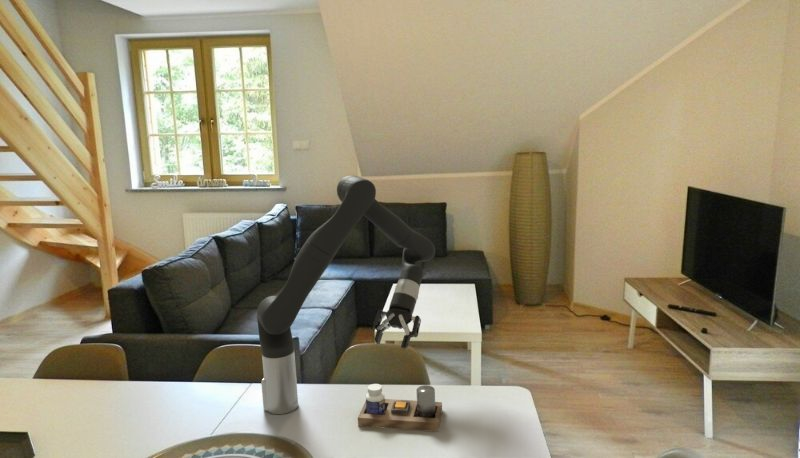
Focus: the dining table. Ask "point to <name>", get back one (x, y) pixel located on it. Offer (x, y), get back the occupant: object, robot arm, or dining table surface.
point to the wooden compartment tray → (401, 417)
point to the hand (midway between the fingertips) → (390, 345)
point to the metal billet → (426, 401)
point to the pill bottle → (375, 400)
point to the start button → (400, 405)
